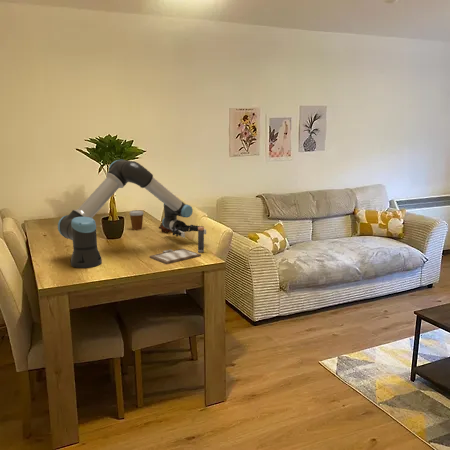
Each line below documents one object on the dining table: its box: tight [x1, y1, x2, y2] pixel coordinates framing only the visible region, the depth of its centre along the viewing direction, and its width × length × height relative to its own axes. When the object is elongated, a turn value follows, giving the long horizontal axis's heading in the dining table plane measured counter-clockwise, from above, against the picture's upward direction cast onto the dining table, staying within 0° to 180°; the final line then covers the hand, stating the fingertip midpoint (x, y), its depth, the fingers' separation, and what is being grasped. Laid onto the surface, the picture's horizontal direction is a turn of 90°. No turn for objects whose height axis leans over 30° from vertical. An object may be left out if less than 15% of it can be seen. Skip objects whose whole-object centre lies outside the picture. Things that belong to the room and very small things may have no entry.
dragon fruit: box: [158, 222, 172, 233], centre depth 308 cm, size 8×8×12 cm
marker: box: [197, 226, 205, 254], centre depth 259 cm, size 3×3×14 cm
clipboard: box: [149, 248, 202, 265], centre depth 251 cm, size 22×16×2 cm
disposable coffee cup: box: [129, 209, 144, 231], centre depth 315 cm, size 10×10×12 cm
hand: (195, 233), depth 264 cm, fingers open, 13 cm apart
